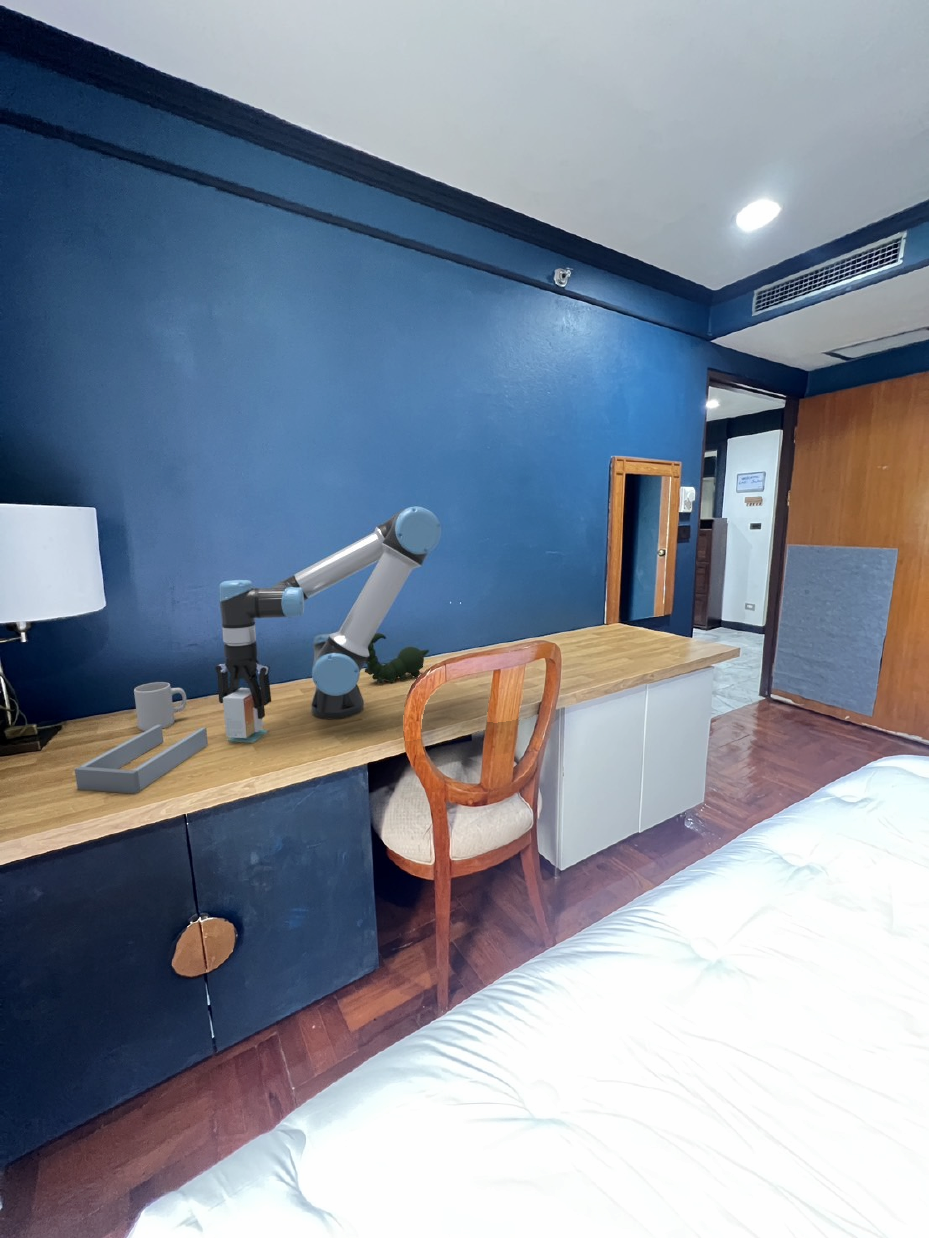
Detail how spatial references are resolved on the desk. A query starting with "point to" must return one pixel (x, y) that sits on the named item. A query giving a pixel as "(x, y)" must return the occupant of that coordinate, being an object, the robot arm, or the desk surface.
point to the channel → (112, 779)
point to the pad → (250, 737)
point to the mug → (156, 704)
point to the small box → (239, 713)
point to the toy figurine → (394, 663)
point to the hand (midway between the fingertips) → (247, 729)
